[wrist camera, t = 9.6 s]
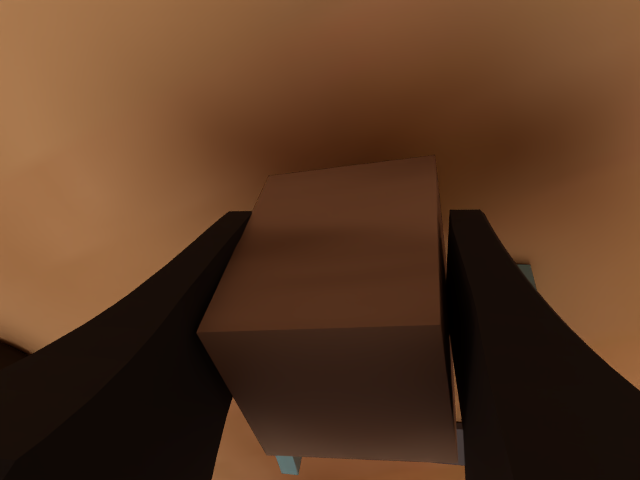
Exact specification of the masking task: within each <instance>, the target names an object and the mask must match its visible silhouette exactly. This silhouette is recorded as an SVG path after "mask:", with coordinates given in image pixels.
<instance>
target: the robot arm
mask: <svg viewBox="0 0 640 480" xmlns="http://www.w3.org/2000/svg"><path fill="white" fill-rule="evenodd" d="M251 215H252V211H229V212H228V213H226V214H225V215H224V216H223V217H221V218H220V219H219V220H218V221H217V222H215V223H214V224H213V225H212V226H211V227H210V228H208V229H207V230H206V231H205V232H204V233H203V234H202V235H200V236H199V237H198V238H197V239H196V240H195V241H194V242H192V243H191V244H190V245H189V246H188V247H187V248H185V249H184V250H183V251H182V252H181V253H180V254H178V255H177V256H176V257H175V258H174V259H173V260H171V261H170V262H169V263H168V264H167V265H165V266H164V267H163V268H162V269H160V270H159V271H158V272H157V273H155V274H154V275H153V276H151V277H150V278H149V279H148V280H146V281H145V282H144V283H143V284H141V285H140V286H139V287H137V288H136V289H135V290H134V291H132V292H131V293H130V294H128V295H127V296H126V297H124V298H123V299H121V300H120V301H118V302H117V303H116V304H114V305H113V306H111V307H110V308H108V309H107V310H105V311H104V312H102V313H101V314H99V315H98V316H96V317H95V318H93V319H92V320H90V321H88V322H87V323H85V324H84V325H82V326H80V327H79V328H77V329H75V330H73V331H72V332H70V333H68V334H66V335H65V336H63V337H61V338H59V339H58V340H56V341H54V342H52V343H51V344H49V345H47V346H45V347H44V348H42V349H40V350H38V351H37V352H35V353H33V354H31V355H29V356H27V357H25V358H23V359H21V360H19V361H17V362H15V363H13V364H11V365H9V366H7V367H5V368H3V369H1V370H0V480H211V479H212V475H213V470H214V466H215V462H216V457H217V453H218V449H219V445H220V441H221V437H222V433H223V429H224V425H225V421H226V417H227V413H228V410H229V407H230V404H231V401H232V397H233V396H232V394H231V392H230V391H229V389H228V387H227V385H226V384H225V382H224V380H223V378H222V377H221V375H220V373H219V371H218V370H217V368H216V366H215V364H214V363H213V361H212V359H211V357H210V356H209V354H208V352H207V350H206V349H205V347H204V345H203V344H202V342H201V340H200V338H199V337H198V335H197V333H196V332H197V330H198V328H199V325H200V323H201V321H202V319H203V317H204V315H205V312H206V310H207V308H208V306H209V304H210V302H211V299H212V297H213V295H214V293H215V291H216V289H217V287H218V284H219V282H220V280H221V278H222V276H223V274H224V271H225V269H226V267H227V265H228V263H229V261H230V258H231V256H232V254H233V252H234V250H235V248H236V246H237V244H238V242H239V240H240V239H241V237H242V235H243V232H244V230H245V228H246V226H247V223H248V221H249V219H250V217H251ZM446 289H447V309H448V324H449V335H450V342H451V349H452V356H453V363H454V369H455V376H456V383H457V389H458V396H459V403H460V410H461V418H462V427H463V440H464V460H465V479H466V480H640V391H639V390H638V389H637V388H636V387H635V386H633V385H632V384H631V383H630V382H629V381H627V380H626V379H625V378H624V377H622V376H621V375H620V374H619V373H618V372H616V371H615V370H614V369H613V368H612V367H610V366H609V365H608V364H607V363H606V362H605V361H604V360H603V359H602V358H601V357H600V356H598V355H597V354H596V353H595V352H594V351H593V350H592V349H591V348H590V347H589V346H588V345H587V344H586V343H585V342H584V341H583V340H582V339H581V338H580V337H579V336H578V335H577V334H576V333H575V332H574V331H573V330H572V329H571V328H570V327H569V326H568V325H567V324H566V323H565V322H564V321H563V320H562V319H561V318H560V317H559V316H558V315H557V313H556V312H555V311H554V310H553V309H552V308H551V307H550V306H549V304H548V303H547V302H546V301H545V300H544V299H543V297H542V296H541V295H540V294H539V293H538V292H537V290H536V289H535V288H534V287H533V285H532V284H531V283H530V282H529V280H528V279H527V278H526V276H525V275H524V274H523V272H522V271H521V270H520V268H519V267H518V266H517V264H516V263H515V262H514V260H513V259H512V258H511V256H510V255H509V253H508V252H507V250H506V249H505V247H504V246H503V244H502V243H501V241H500V240H499V238H498V237H497V235H496V233H495V232H494V230H493V228H492V227H491V225H490V223H489V221H488V220H487V218H486V216H485V214H484V213H483V212H482V211H481V210H450V215H449V234H448V254H447V273H446Z"/></svg>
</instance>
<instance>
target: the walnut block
mask: <svg viewBox="0 0 640 480" xmlns="http://www.w3.org/2000/svg"><path fill="white" fill-rule="evenodd" d="M446 273H447V263H446V254H445V244H444V235H443V226H442V216H441V207H440V197H439V188H438V178H437V169H436V159H435V155H432V156H424V157H416V158H408V159H400V160H392V161H384V162H376V163H367V164H359V165H351V166H343V167H335V168H327V169H319V170H311V171H303V172H295V173H287V174H279V175H271V176H268V178H267V181H266V183H265V185H264V187H263V189H262V191H261V194H260V196H259V198H258V200H257V202H256V204H255V207H254V209H253V211H252V215H251V217H250V219H249V221H248V223H247V226H246V228H245V230H244V232H243V235H242V237H241V239H240V240H239V242H238V244H237V246H236V248H235V250H234V252H233V254H232V256H231V258H230V261H229V263H228V265H227V267H226V269H225V271H224V274H223V276H222V278H221V280H220V282H219V284H218V287H217V289H216V291H215V293H214V295H213V297H212V299H211V302H210V304H209V306H208V308H207V310H206V312H205V315H204V317H203V319H202V321H201V323H200V325H199V328H198V330H197V332H196V333H197V335H198V337H199V338H200V340H201V342H202V344H203V345H204V347H205V349H206V350H207V352H208V354H209V356H210V357H211V359H212V361H213V363H214V364H215V366H216V368H217V370H218V371H219V373H220V375H221V377H222V378H223V380H224V382H225V384H226V385H227V387H228V389H229V391H230V392H231V394H232V396H233V398H234V399H235V401H236V403H237V405H238V406H239V408H240V410H241V411H242V413H243V415H244V417H245V418H246V420H247V422H248V424H249V425H250V427H251V429H252V431H253V432H254V434H255V436H256V438H257V439H258V441H259V443H260V445H261V446H262V448H263V450H264V452H265V453H266V455H273V456H296V457H319V458H342V459H366V460H389V461H412V462H435V463H458V450H457V431H456V412H455V393H454V375H453V356H452V349H451V342H450V335H449V324H448V309H447V289H446Z"/></svg>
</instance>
